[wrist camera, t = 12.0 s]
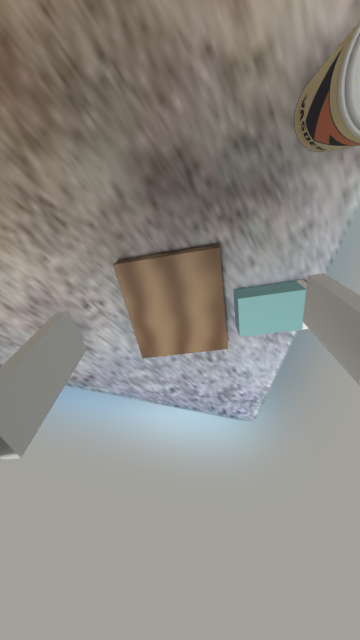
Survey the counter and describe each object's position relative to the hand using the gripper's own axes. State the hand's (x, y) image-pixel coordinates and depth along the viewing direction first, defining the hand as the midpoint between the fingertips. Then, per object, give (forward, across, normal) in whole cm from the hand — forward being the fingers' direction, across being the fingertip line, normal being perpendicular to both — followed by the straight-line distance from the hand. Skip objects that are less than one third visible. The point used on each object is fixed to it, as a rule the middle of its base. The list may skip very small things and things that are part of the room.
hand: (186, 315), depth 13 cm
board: (+24, -3, -11) cm, 27 cm away
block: (+22, +7, -13) cm, 27 cm away
